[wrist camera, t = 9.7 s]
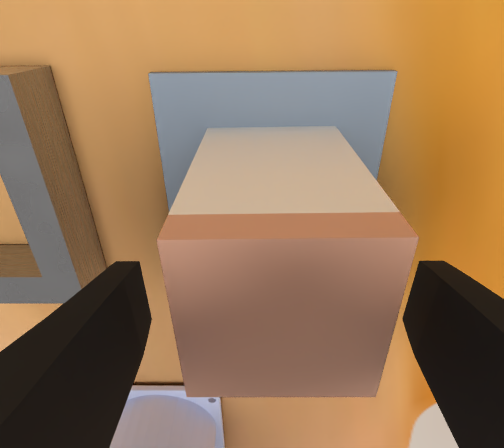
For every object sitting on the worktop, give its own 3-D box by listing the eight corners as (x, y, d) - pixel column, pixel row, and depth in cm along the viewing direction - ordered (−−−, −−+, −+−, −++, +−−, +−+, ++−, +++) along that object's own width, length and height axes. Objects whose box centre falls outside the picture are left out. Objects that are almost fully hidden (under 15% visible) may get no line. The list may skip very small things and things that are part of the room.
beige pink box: (324, 234, 16) (375, 397, 9) (216, 235, 16) (186, 397, 9) (335, 126, 13) (418, 237, 7) (207, 127, 14) (156, 240, 7)
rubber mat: (357, 264, 17) (359, 269, 17) (179, 265, 17) (177, 269, 17) (393, 69, 13) (397, 71, 12) (151, 72, 13) (148, 73, 13)
